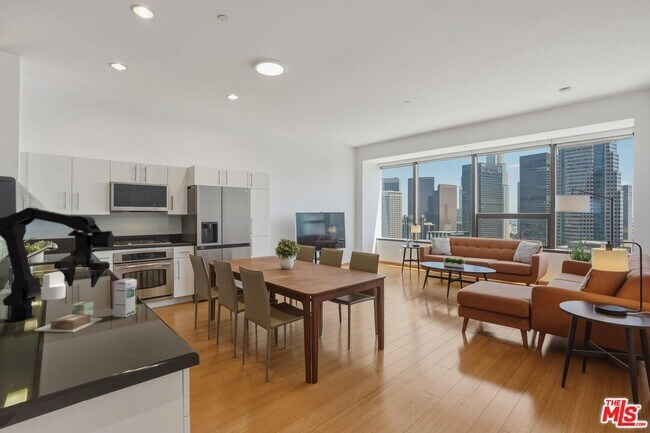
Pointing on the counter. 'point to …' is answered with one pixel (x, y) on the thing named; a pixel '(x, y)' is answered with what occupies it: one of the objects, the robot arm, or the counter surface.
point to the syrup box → (125, 297)
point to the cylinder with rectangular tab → (53, 286)
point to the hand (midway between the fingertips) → (81, 286)
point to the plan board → (69, 323)
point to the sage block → (83, 308)
